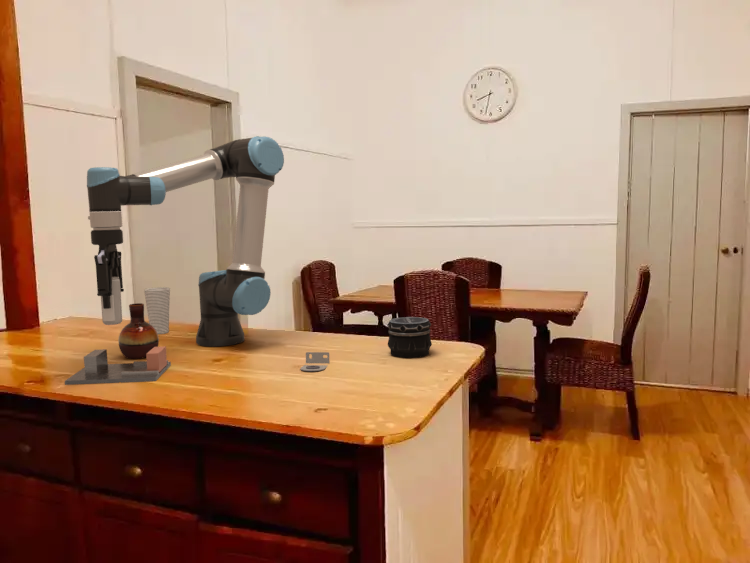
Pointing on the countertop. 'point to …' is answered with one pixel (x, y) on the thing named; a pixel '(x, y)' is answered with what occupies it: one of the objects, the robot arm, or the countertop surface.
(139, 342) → the vase
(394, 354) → the container
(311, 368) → the bracket
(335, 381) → the countertop surface
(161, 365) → the block
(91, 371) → the grey vise base
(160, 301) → the cup
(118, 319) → the beverage can
